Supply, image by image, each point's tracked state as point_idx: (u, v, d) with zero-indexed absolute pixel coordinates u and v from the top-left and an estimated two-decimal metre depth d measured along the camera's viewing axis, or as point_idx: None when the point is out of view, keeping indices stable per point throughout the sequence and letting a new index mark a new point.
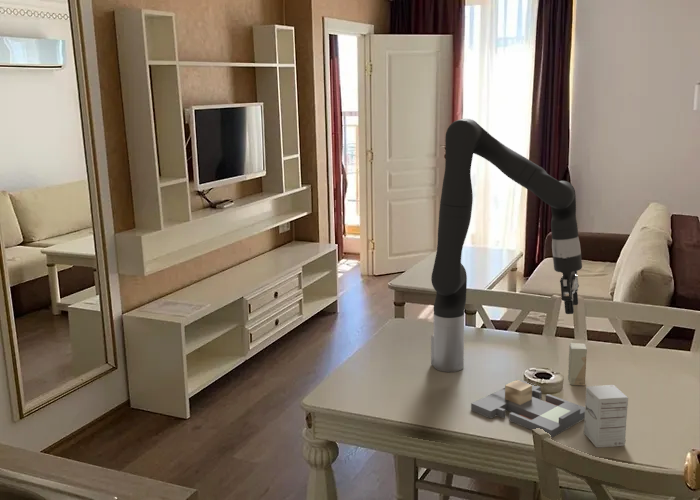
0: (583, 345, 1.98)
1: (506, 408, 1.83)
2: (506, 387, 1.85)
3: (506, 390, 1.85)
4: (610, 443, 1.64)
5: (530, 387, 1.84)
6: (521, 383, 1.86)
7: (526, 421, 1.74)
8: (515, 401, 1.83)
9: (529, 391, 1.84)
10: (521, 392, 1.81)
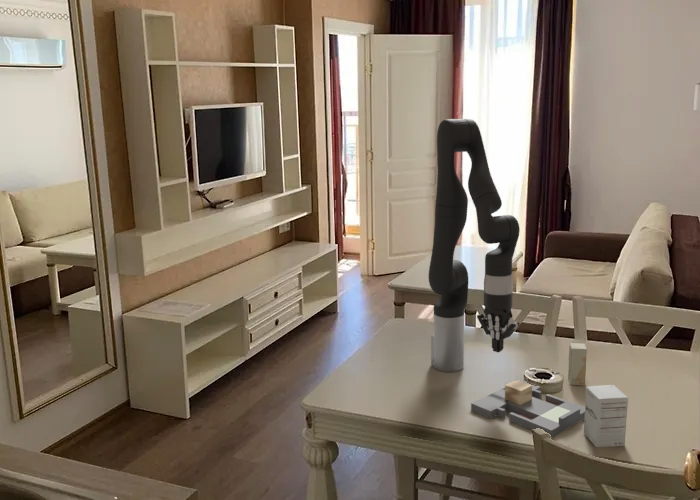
0: (583, 345, 1.98)
1: (506, 408, 1.83)
2: (506, 387, 1.85)
3: (506, 390, 1.85)
4: (610, 443, 1.64)
5: (530, 387, 1.84)
6: (521, 383, 1.86)
7: (526, 421, 1.74)
8: (515, 401, 1.83)
9: (529, 391, 1.84)
10: (521, 392, 1.81)
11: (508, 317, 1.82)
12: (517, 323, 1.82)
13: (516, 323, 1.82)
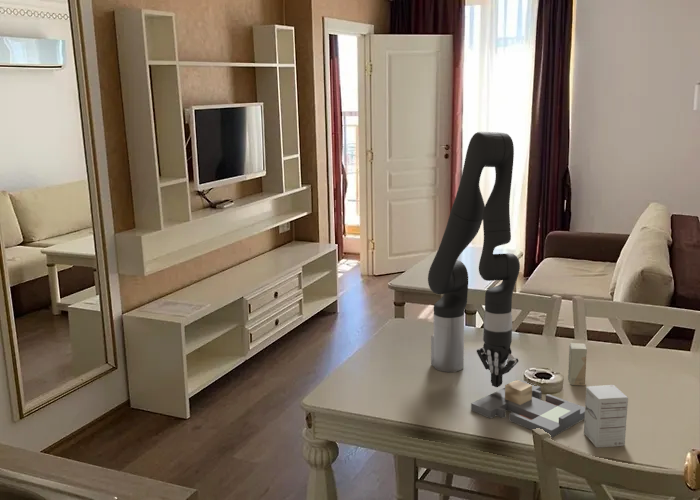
0: (583, 345, 1.98)
1: (506, 408, 1.83)
2: (506, 387, 1.85)
3: (506, 390, 1.85)
4: (610, 443, 1.64)
5: (530, 387, 1.84)
6: (521, 383, 1.86)
7: (526, 421, 1.74)
8: (515, 401, 1.83)
9: (529, 391, 1.84)
10: (521, 392, 1.81)
11: (507, 353, 1.84)
12: (516, 360, 1.84)
13: (515, 360, 1.84)
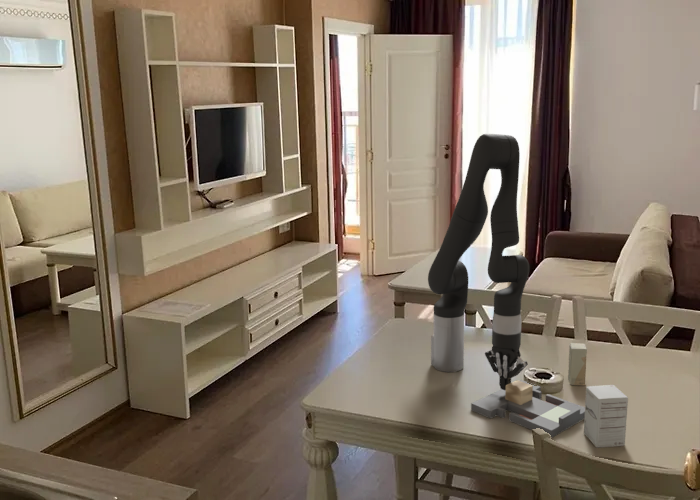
0: (583, 345, 1.98)
1: (506, 408, 1.83)
2: (506, 387, 1.84)
3: (507, 390, 1.85)
4: (610, 443, 1.64)
5: (530, 387, 1.84)
6: (521, 383, 1.85)
7: (526, 421, 1.74)
8: (515, 401, 1.83)
9: (529, 391, 1.84)
10: (521, 392, 1.81)
11: (516, 356, 1.82)
12: (525, 363, 1.82)
13: (524, 363, 1.82)
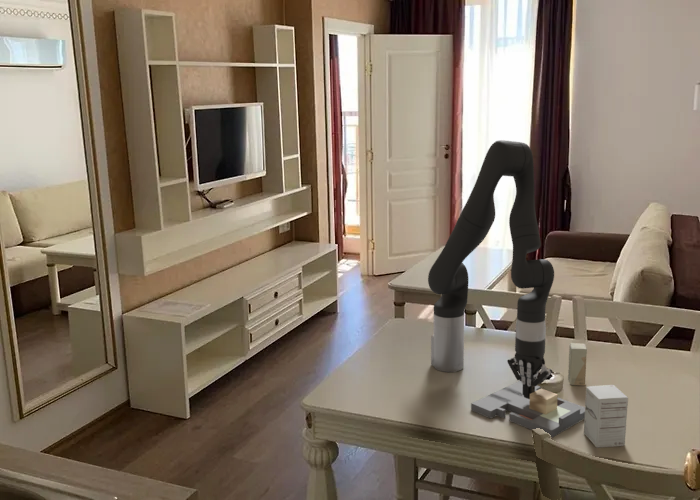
0: (583, 345, 1.98)
1: (506, 408, 1.83)
2: (531, 396, 1.79)
3: (531, 399, 1.79)
4: (610, 443, 1.64)
5: (556, 396, 1.78)
6: (546, 392, 1.80)
7: (526, 421, 1.74)
8: (540, 410, 1.77)
9: (554, 400, 1.78)
10: (547, 401, 1.76)
11: (541, 364, 1.77)
12: (550, 370, 1.76)
13: (549, 370, 1.76)
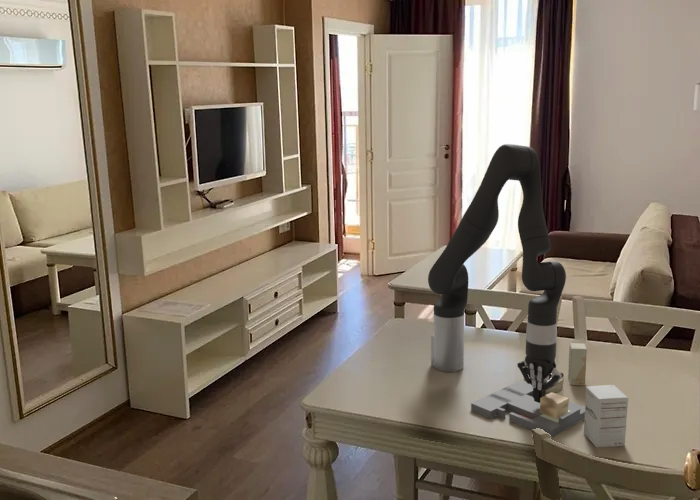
0: (583, 345, 1.98)
1: (506, 408, 1.83)
2: (541, 400, 1.76)
3: (541, 403, 1.77)
4: (610, 443, 1.64)
5: (567, 400, 1.76)
6: (557, 396, 1.77)
7: (526, 421, 1.74)
8: (551, 415, 1.75)
9: (565, 404, 1.76)
10: (558, 405, 1.73)
11: (552, 368, 1.74)
12: (561, 374, 1.74)
13: (560, 374, 1.74)
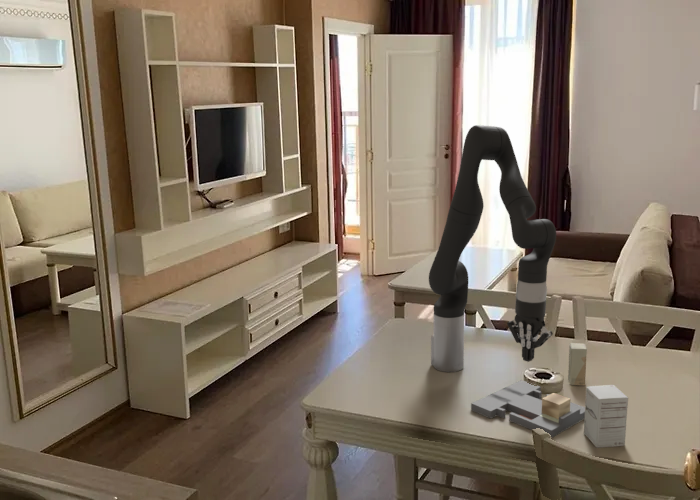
0: (583, 345, 1.98)
1: (506, 408, 1.83)
2: (543, 400, 1.76)
3: (543, 404, 1.76)
4: (610, 443, 1.64)
5: (568, 400, 1.75)
6: (559, 396, 1.77)
7: (526, 421, 1.74)
8: (553, 415, 1.75)
9: (567, 405, 1.75)
10: (559, 406, 1.73)
11: (541, 326, 1.74)
12: (550, 332, 1.74)
13: (549, 332, 1.74)
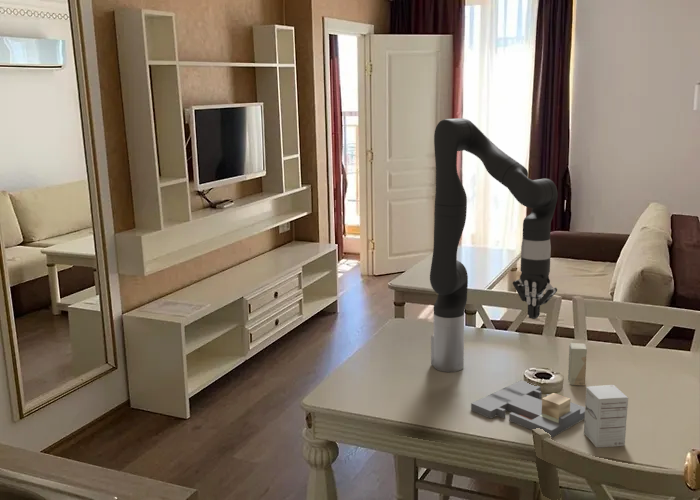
0: (583, 345, 1.98)
1: (506, 408, 1.83)
2: (543, 400, 1.76)
3: (543, 404, 1.76)
4: (610, 443, 1.64)
5: (568, 400, 1.75)
6: (559, 396, 1.77)
7: (526, 421, 1.74)
8: (553, 415, 1.75)
9: (567, 405, 1.75)
10: (559, 406, 1.73)
11: (546, 283, 1.80)
12: (555, 289, 1.80)
13: (554, 289, 1.79)
